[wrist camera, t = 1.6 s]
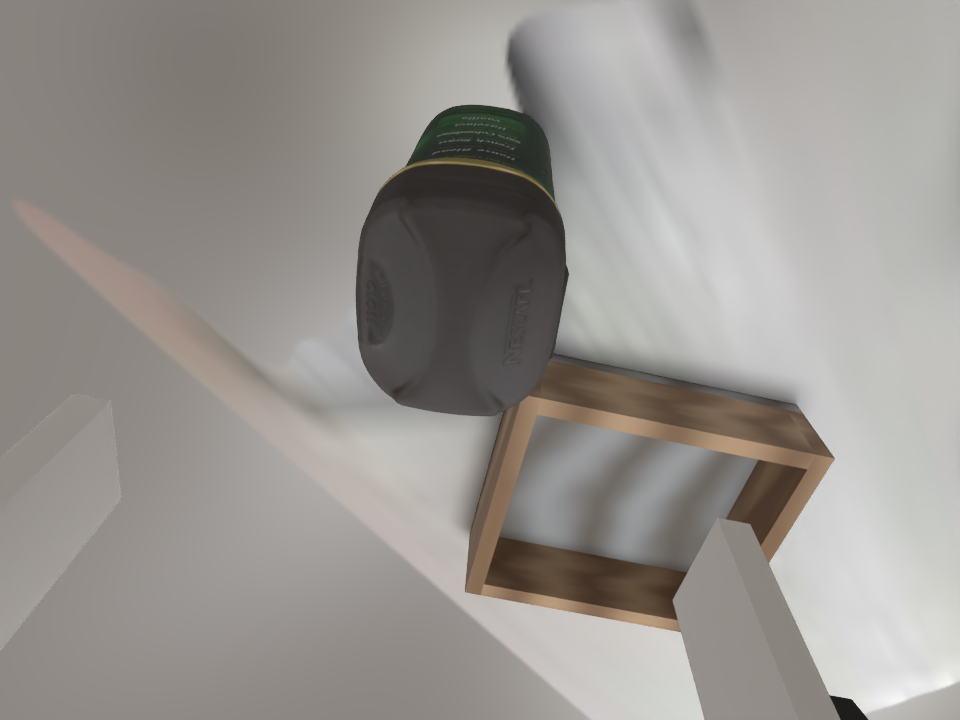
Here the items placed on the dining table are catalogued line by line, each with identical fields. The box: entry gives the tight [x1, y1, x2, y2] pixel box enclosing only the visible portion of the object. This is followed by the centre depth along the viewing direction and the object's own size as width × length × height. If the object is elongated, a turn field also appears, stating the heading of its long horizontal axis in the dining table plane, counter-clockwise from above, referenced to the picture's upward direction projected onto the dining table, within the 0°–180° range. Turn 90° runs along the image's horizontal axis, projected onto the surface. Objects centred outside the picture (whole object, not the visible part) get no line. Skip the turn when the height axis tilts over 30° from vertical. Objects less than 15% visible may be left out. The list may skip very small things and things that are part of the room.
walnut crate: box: [465, 354, 835, 632], centre depth 45 cm, size 20×18×6 cm
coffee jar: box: [356, 105, 569, 416], centre depth 30 cm, size 10×8×19 cm
